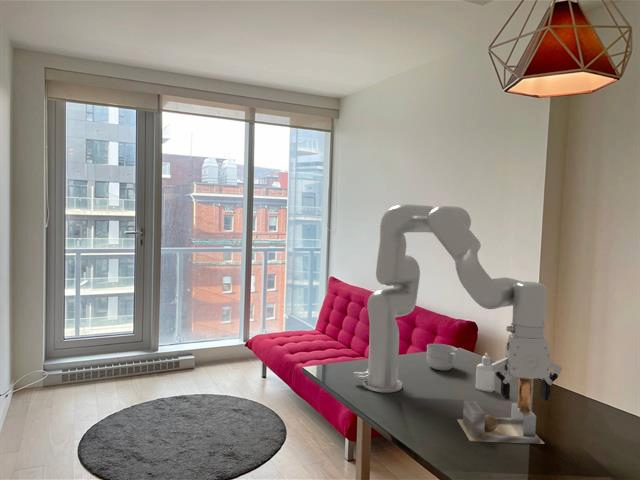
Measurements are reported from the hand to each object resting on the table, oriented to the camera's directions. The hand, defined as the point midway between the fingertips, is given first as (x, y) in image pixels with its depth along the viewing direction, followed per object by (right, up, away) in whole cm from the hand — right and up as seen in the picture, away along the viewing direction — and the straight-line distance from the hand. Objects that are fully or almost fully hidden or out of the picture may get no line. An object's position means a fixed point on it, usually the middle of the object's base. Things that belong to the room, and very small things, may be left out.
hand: (524, 398), depth 122 cm
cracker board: (-6, -10, +1) cm, 12 cm away
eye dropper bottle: (+1, -9, +34) cm, 35 cm away
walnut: (-9, -9, +1) cm, 12 cm away
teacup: (-7, -7, +53) cm, 54 cm away
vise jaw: (0, -8, +1) cm, 9 cm away
